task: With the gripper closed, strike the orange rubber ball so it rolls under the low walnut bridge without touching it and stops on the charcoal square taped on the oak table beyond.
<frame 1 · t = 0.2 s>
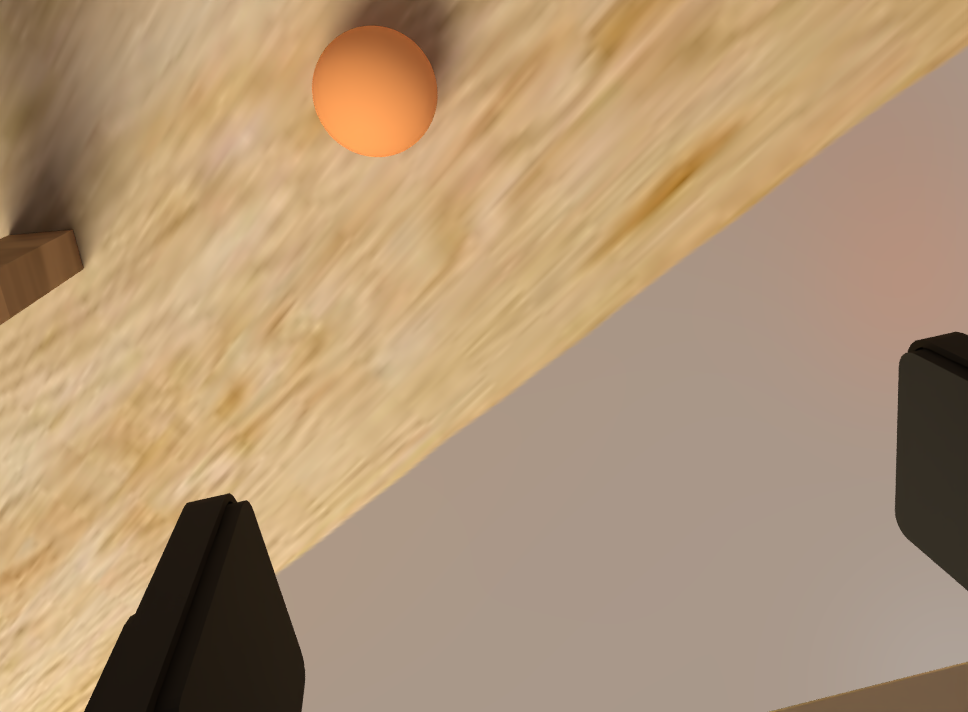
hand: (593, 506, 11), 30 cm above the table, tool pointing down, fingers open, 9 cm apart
ball: (375, 93, 34), on the table
bridge: (8, 119, 35), on the table
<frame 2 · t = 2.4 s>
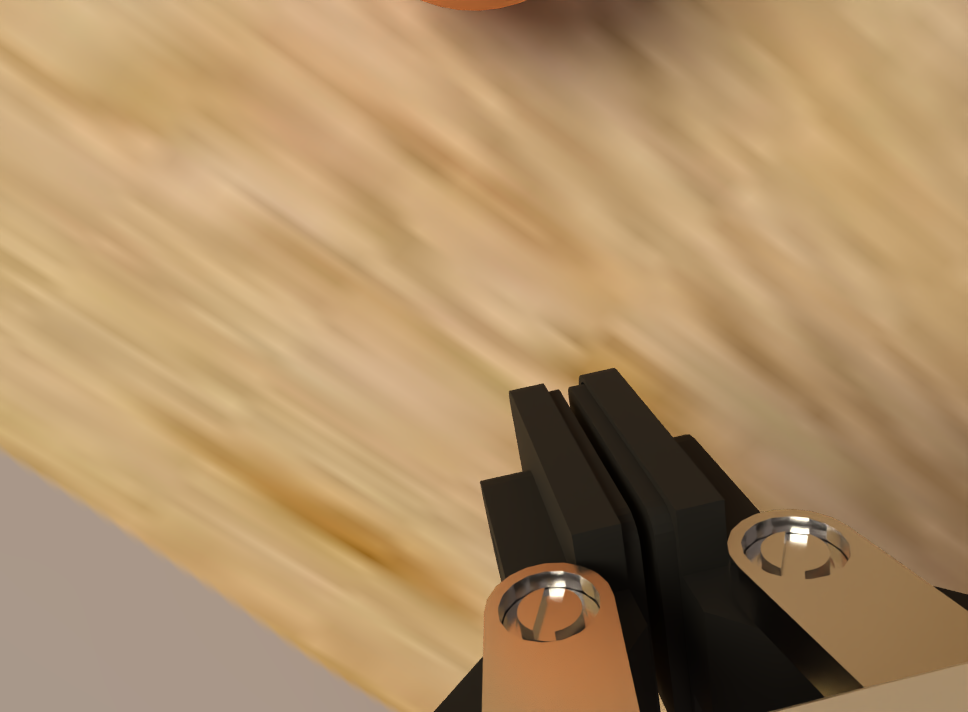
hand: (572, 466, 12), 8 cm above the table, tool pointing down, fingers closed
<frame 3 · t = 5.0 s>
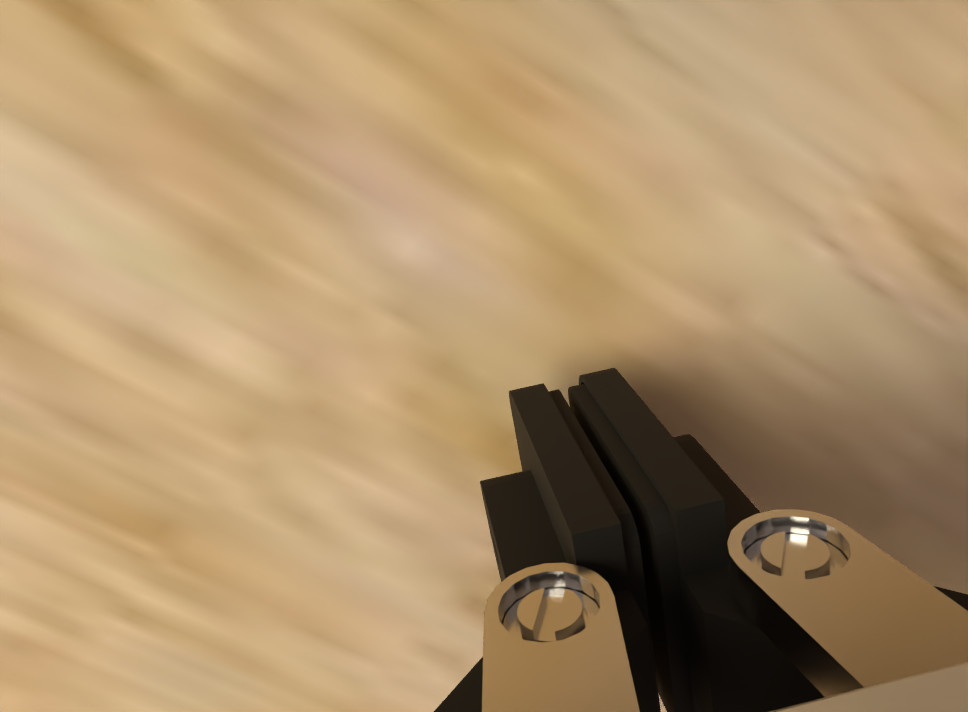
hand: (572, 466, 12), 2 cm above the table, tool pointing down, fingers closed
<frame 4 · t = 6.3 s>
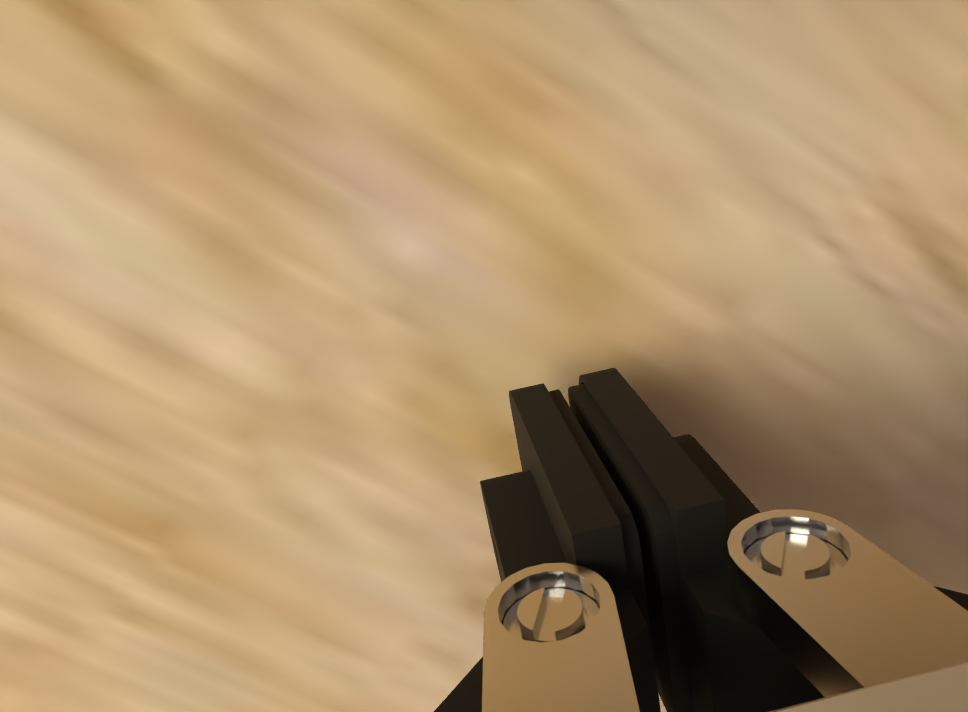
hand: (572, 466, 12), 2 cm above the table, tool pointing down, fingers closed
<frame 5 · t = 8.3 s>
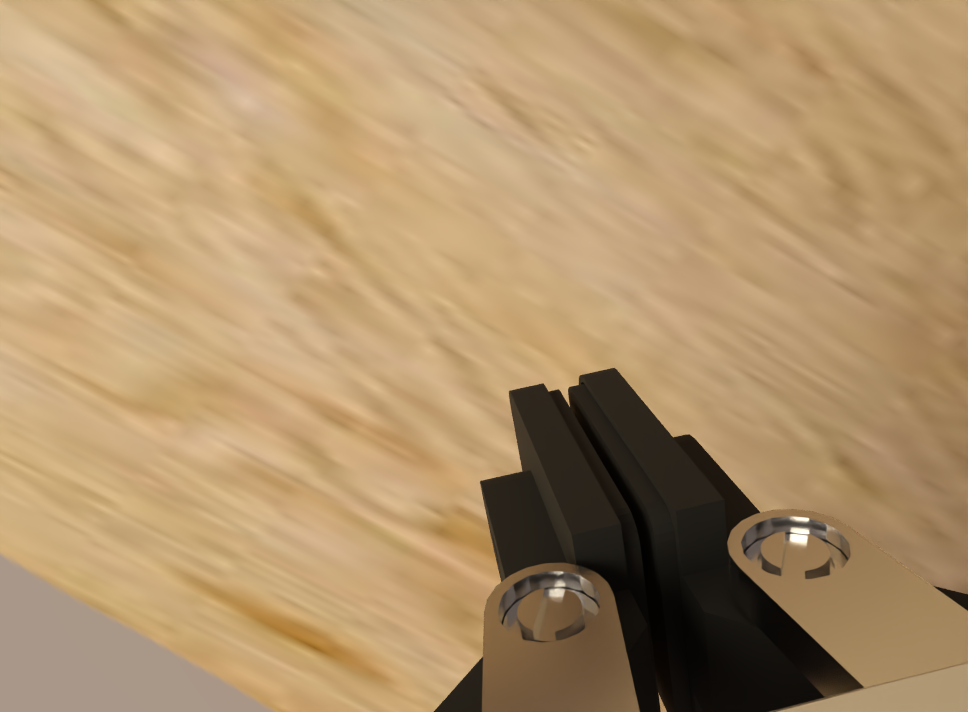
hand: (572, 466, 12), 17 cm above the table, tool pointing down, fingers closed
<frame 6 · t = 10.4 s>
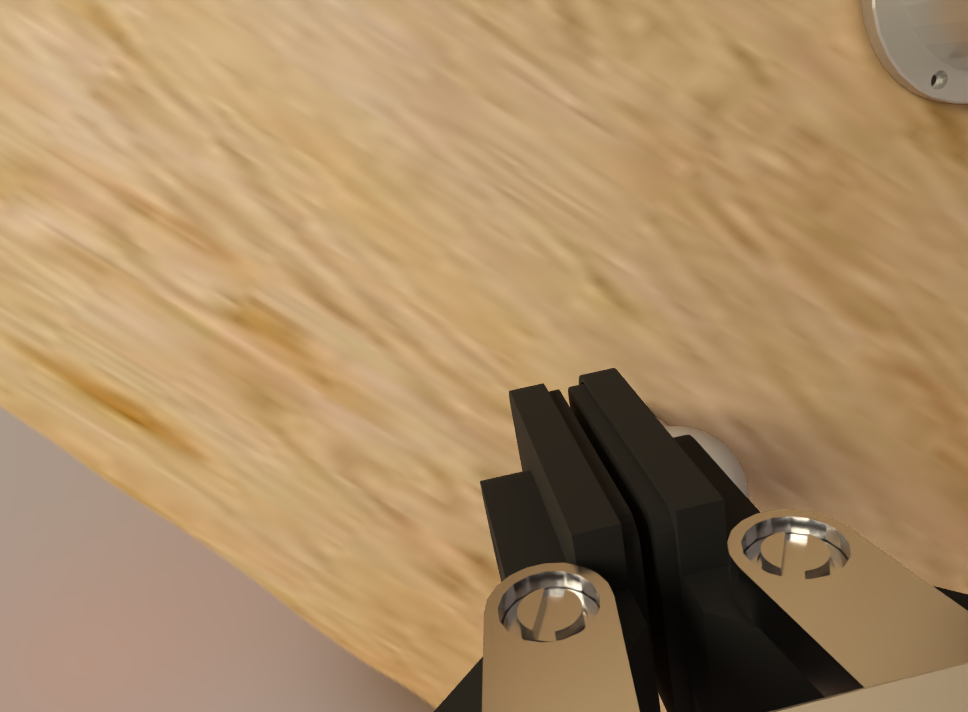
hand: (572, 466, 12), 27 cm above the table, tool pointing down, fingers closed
lightbulb: (625, 418, 43), on the table
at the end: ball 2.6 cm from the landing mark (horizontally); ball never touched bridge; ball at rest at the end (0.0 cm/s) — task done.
